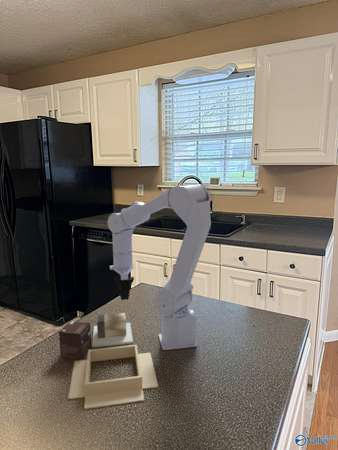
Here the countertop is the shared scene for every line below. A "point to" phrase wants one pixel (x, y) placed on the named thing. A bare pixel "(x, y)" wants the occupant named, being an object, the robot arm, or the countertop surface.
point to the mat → (112, 338)
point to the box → (75, 340)
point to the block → (111, 325)
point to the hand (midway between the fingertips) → (124, 294)
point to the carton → (114, 388)
